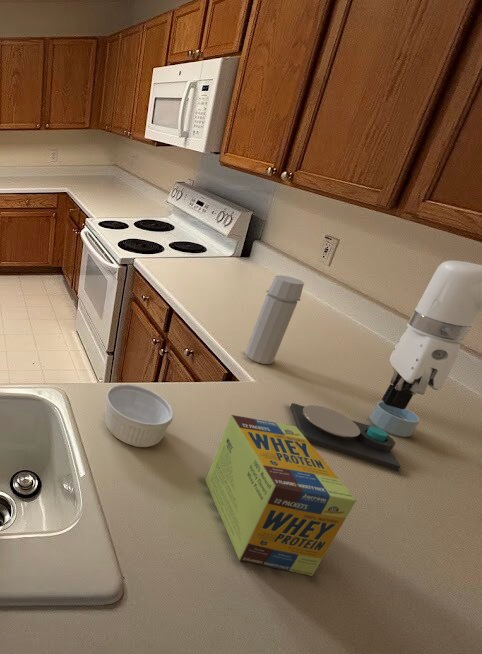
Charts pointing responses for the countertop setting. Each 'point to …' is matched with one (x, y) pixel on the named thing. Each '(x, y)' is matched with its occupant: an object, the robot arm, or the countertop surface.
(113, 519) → the countertop surface
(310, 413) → the scale plate
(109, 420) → the ramekin
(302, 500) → the protein box
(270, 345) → the water bottle
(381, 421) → the bowl
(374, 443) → the scale
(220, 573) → the countertop surface
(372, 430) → the tare button
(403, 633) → the countertop surface
